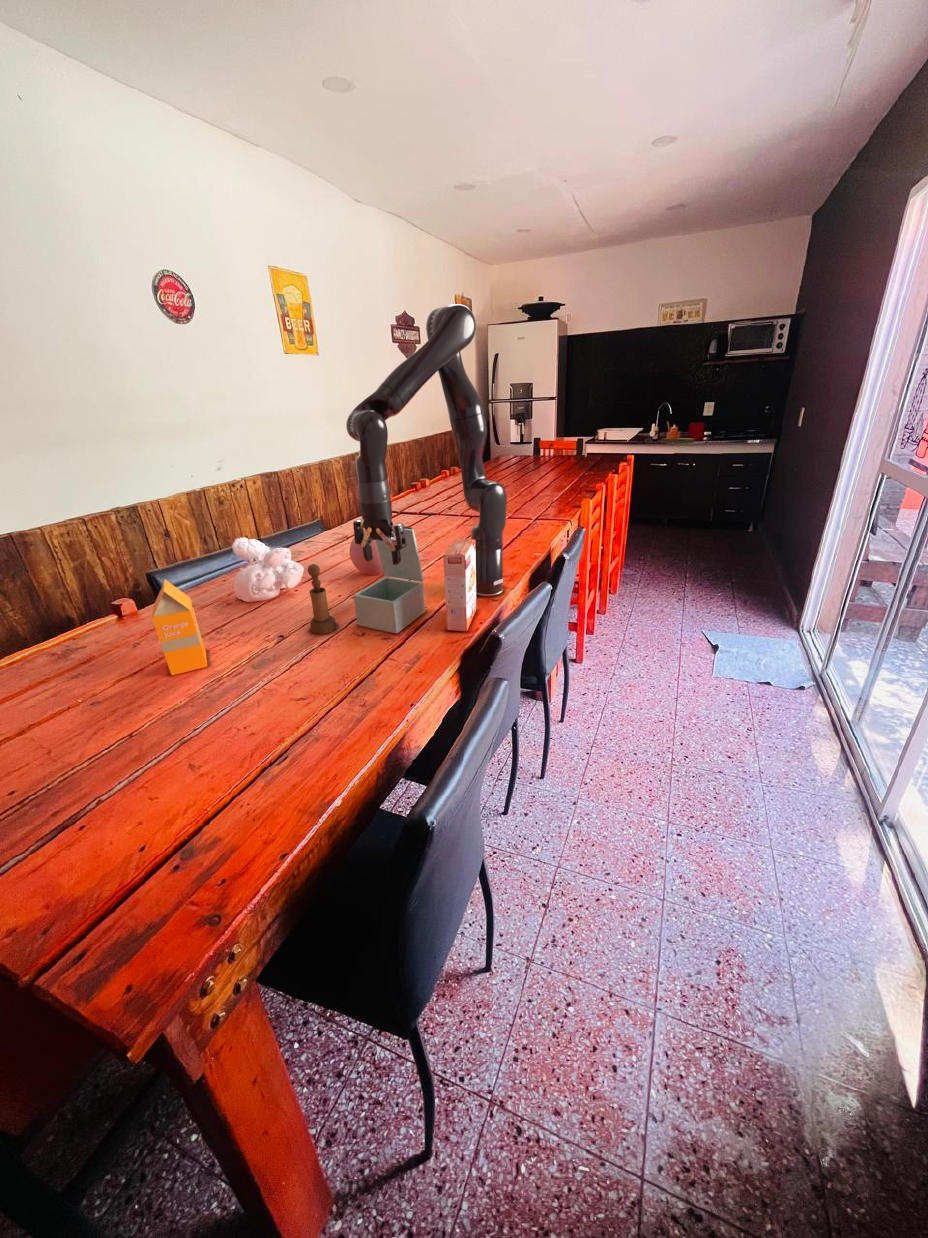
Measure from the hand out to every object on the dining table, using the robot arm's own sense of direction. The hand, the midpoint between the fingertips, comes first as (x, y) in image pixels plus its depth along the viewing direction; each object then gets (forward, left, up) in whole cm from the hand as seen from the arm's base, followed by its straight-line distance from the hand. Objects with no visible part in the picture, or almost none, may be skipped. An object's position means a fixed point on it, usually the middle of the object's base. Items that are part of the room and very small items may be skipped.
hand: (382, 562), depth 127 cm
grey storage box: (-2, -1, -17) cm, 17 cm away
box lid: (-8, -1, 0) cm, 8 cm away
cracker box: (-9, +18, -17) cm, 26 cm away
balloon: (-32, -27, -17) cm, 45 cm away
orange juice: (+37, -32, -17) cm, 52 cm away
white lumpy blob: (-4, -47, -17) cm, 50 cm away
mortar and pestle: (+10, -14, -17) cm, 25 cm away
